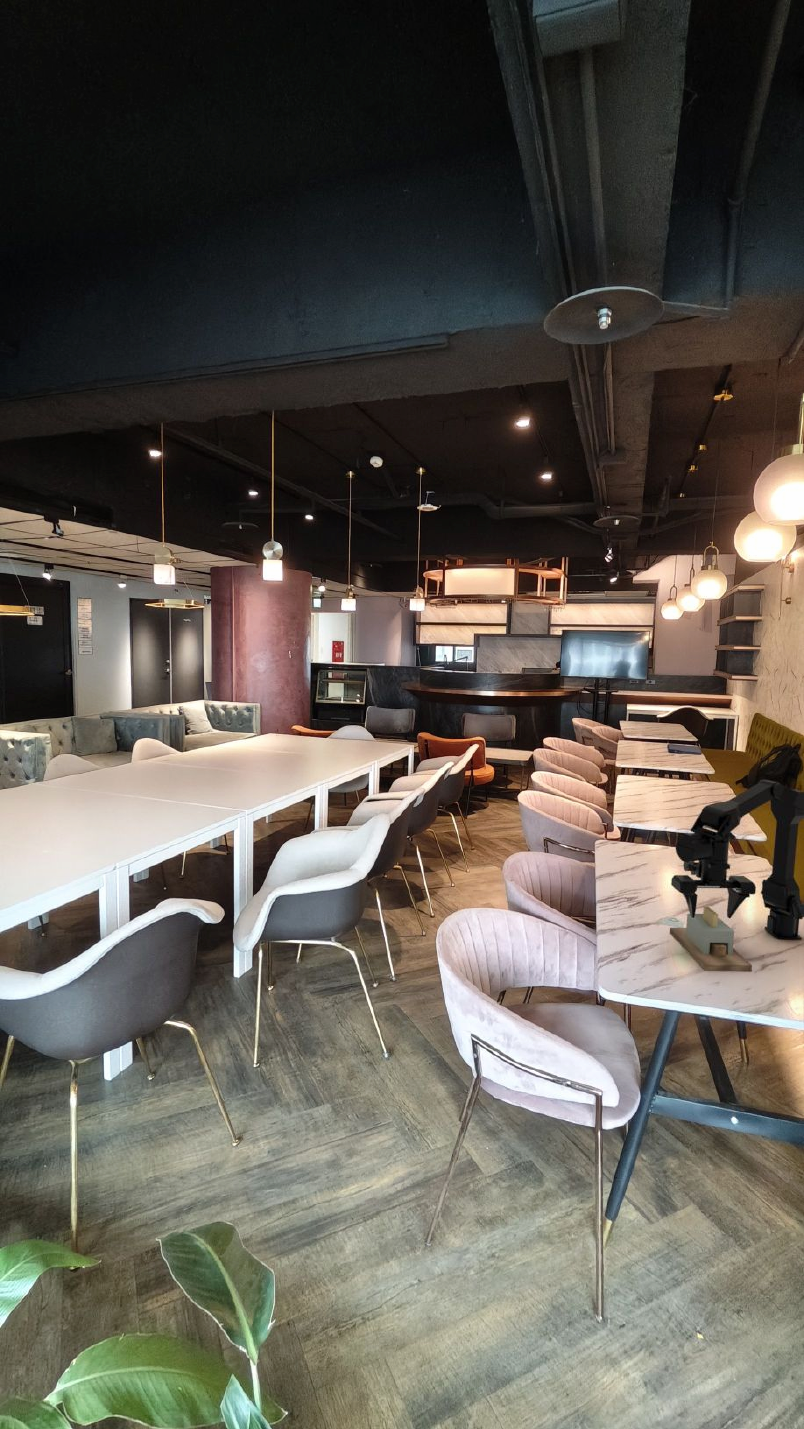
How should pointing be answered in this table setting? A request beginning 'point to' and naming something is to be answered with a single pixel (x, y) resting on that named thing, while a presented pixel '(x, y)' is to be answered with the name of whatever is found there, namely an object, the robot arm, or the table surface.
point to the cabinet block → (709, 931)
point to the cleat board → (712, 954)
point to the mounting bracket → (672, 922)
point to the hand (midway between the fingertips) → (710, 917)
